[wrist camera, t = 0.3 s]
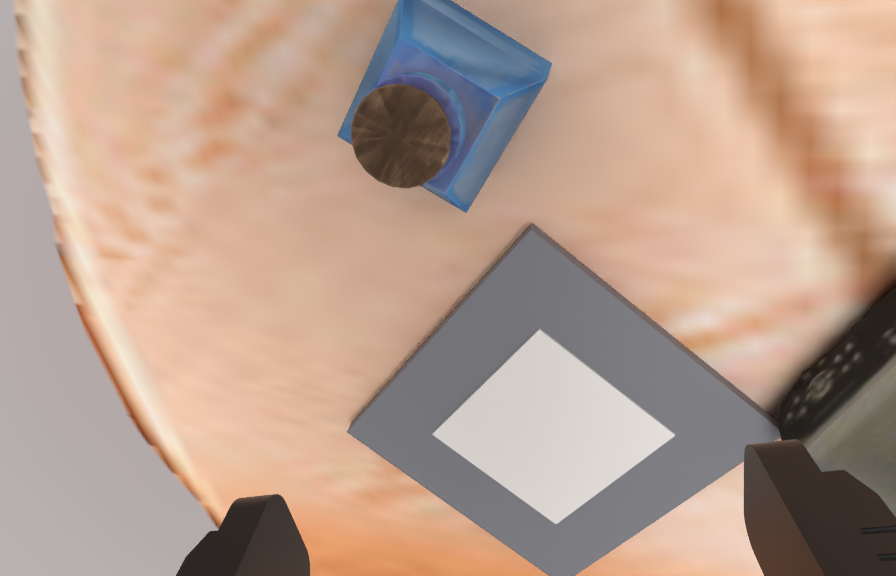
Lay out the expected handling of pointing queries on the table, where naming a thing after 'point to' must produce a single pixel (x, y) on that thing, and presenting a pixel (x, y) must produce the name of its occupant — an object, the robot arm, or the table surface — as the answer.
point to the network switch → (852, 404)
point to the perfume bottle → (441, 100)
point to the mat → (558, 412)
